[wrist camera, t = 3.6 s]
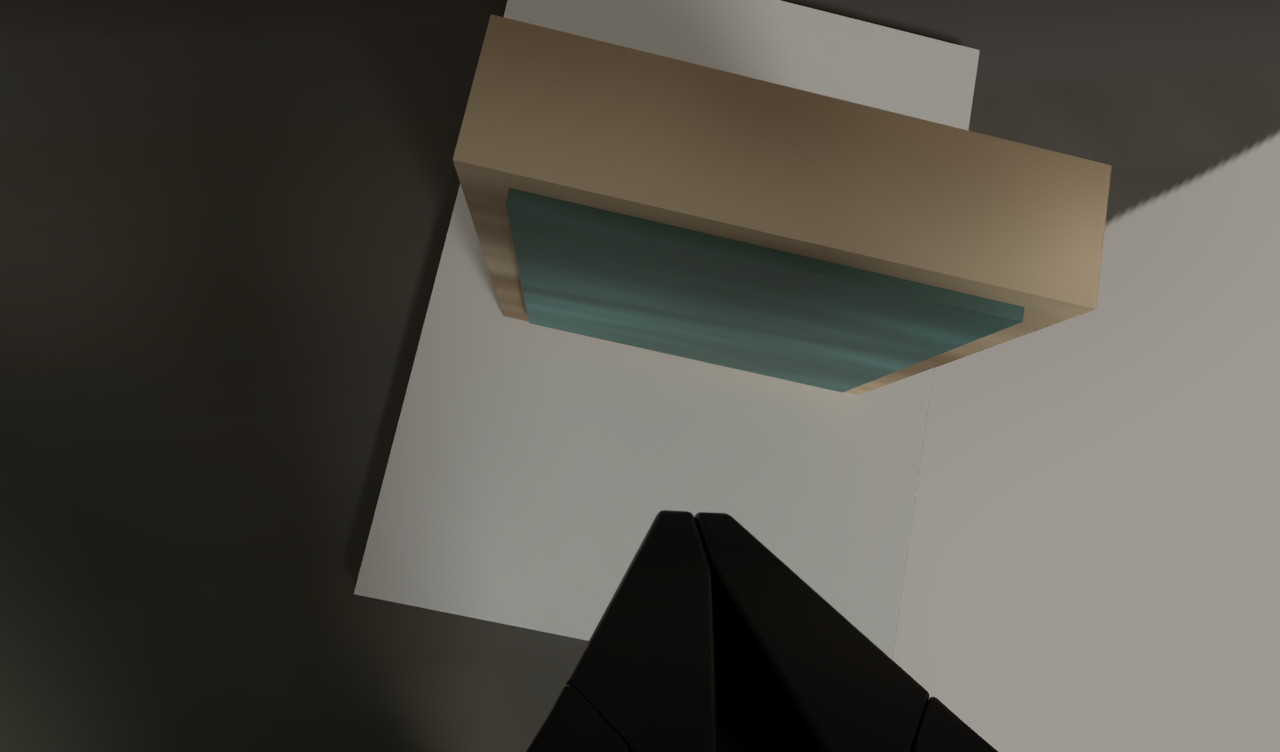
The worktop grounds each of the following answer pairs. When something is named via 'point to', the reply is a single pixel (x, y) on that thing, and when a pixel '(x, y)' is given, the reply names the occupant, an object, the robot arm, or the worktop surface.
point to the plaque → (761, 216)
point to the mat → (653, 388)
